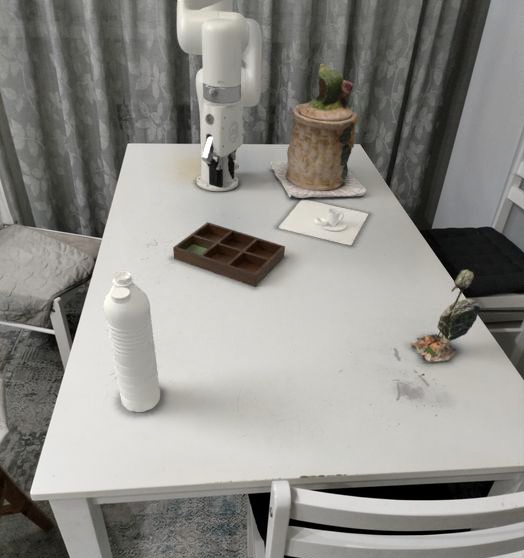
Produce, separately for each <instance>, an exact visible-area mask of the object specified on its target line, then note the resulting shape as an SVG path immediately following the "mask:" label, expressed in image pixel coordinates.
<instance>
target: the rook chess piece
mask: <svg viewBox="0 0 524 558" xmlns="http://www.w3.org/2000/svg"><path fill="white" fill-rule="evenodd" d="M228 156H229V154H228V155H227V156H225V157H222V165H221V169H223V186H222V187H221V188H227V187H229V186H231V184H232V181H231V180H232V177H231V175H230V173H229V170H228V161H229V160H228ZM216 161H217V158H216ZM218 188H220V187H218Z"/></svg>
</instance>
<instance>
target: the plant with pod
mask: <svg viewBox="0 0 524 558" xmlns="http://www.w3.org/2000/svg"><path fill="white" fill-rule="evenodd" d="M474 277H475V276H474V272H473V271H472V270H471V271H470V270H469V269H462V270H460V272H459V273H458V274H457V276H456V278H455V280H454V281H453V283H454V287H452V289H451V293H453V292H454V291H455V290H456V289H460V291H459V292H458V295H457V296H456V299H455V301H454V302H453V303H451V304H450V305H449V306H447V307H446V309H444V310H443V312H442V313H441V314H440V315H439V320H438V322H437V329H438V330H439V332H438V333H435V334H425V335H422V336H420V337H416V339H415V340H413V341H412V342H411V343H410V346H411V347H413V348H416V350H415V351H417V353H418V355H419V356H420V357H421V359H422V361H423V362H427V363H432V362H433V363H435V362H436V363H437V362H443V361H444V362H447V361H449V360H450V359H451V358H452V357H453V355H455V354H456V352H458V350H457V349H456V347H452V346H451V345H450V344H449V342H452V341H455V340H458V339H459V338H460V337H462V336H465V335H466V334H467V333H468V332H469V330H470V329H471V328H472V327H473V325H474V323H475V322H476V321H477V318H478V315H479V312H480V310H481V306H483V307H484V303H482V304H481V305H480V304H479V303H478V302H477V301H475V300H474V299H471V298H464V299H460V297H461V296H462V293H463V292H464V290H466V289H468V288H469V287H470V285H471V284H472V282H473V280H474Z"/></svg>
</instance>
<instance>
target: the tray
mask: <svg viewBox="0 0 524 558" xmlns="http://www.w3.org/2000/svg"><path fill="white" fill-rule="evenodd" d="M172 251H173V260H176V261H178V262H183V263H185V264H188V265H190V266H194V267H197V268H199V269H201V270H206V271H207V272H211V273H214V274H217V275H220V276H222V277H226V278H228V279H231V280H233V281H237V282H240V283H243V284H245V285H248V286H251V287H254V288H257V286H258V285H259V284H260V283H261V282H262V281H263V280H264V279H265V278H266V276H268V275H269V274H270V273H271V271H273V270H274V269H275V268H276V267H277V266H278V264H279V263H280V262H281V261H283V259H284V258H285V253H286V246H285V245H283V244H279V243H275V242H273V241H269V240H265V239H263V238H260V237H256V236H253V235H250V234H247V233H243V232H241V231H237V230H234V229H231V228H227V227H226V226H225V227H224V226H221V225H219V224H215V223H212V222H208V221H207V222H205V223H204V224H203V225H202V226H200V227H199V228H197V229H196V230H195V231H193V232H192V233H191V234H189V235H188V236H186V237H185V238H184V239H182V240H181V241H179V242H178V243H177V244H176V245H174V246H173V247H172Z"/></svg>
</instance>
